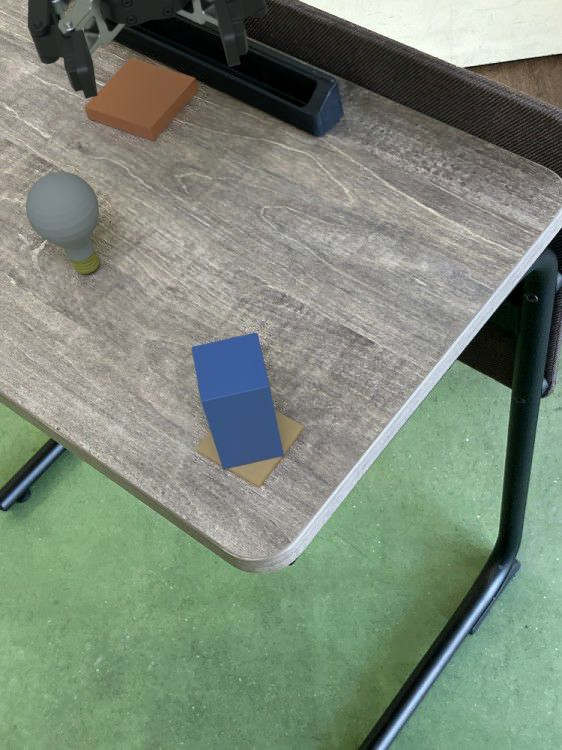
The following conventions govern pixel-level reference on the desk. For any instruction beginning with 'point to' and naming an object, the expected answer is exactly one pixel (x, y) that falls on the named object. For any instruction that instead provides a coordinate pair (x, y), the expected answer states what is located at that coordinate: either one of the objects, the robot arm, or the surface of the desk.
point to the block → (237, 400)
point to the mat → (261, 469)
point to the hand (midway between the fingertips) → (160, 69)
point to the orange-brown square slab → (141, 99)
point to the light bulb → (66, 216)
